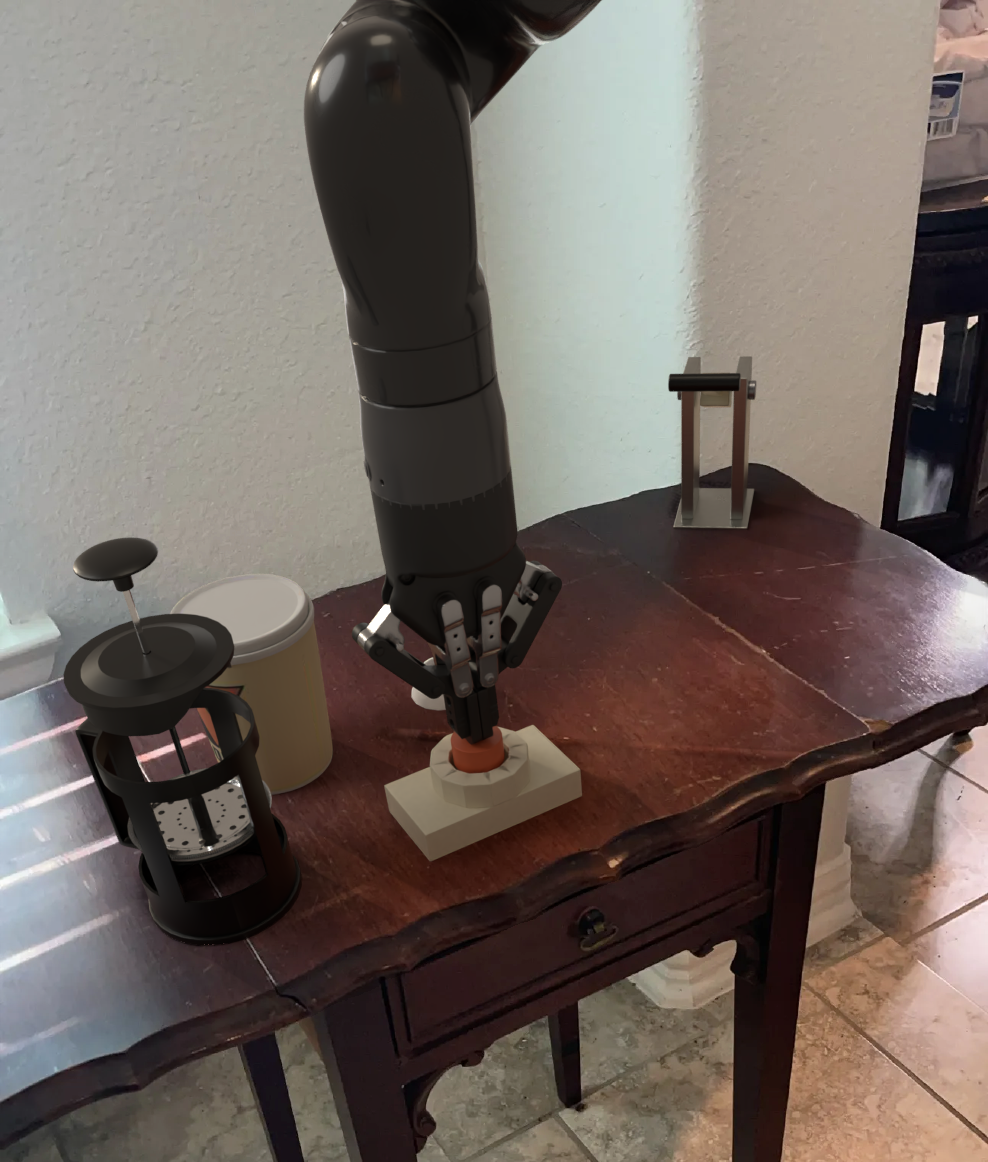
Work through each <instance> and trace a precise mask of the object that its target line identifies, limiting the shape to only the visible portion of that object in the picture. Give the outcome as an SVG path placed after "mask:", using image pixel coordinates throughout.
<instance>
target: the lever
mask: <svg viewBox="0 0 988 1162" xmlns="http://www.w3.org/2000/svg"><path fill="white" fill-rule="evenodd" d="M740 384H741V374H740V373H736V372H701V373H693V374H683V373H670V374H669V375H668V383H667V388H668V392H669V393H672V392H673V393H675V392H676V393H677V392H700V407H702V408H706V409H707V408H708V409H709V408H731V407H732V399H733V392H734V391H739V390H740Z"/></svg>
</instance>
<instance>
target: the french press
mask: <svg viewBox="0 0 988 1162" xmlns="http://www.w3.org/2000/svg"><path fill="white" fill-rule="evenodd" d="M158 555H159V549H158V547H157V545H156V544H155V543H154V542H153V541H151V540H149V539H147V538H142V537H135V536H134V537H133V536H129V537H128V536H127V537H119V538H113V539H107V540H105V541H102V542H99V543H97V544H94V545H93V546H91V547H88V549H86V550H84V551H82V553H80V554H79V555H78V556H77V558H76V559H75V560H74V562H73V566H72V569H73V572H74V574H75V575H76V576H77V577H78V578H79V579H83V580H85V581H88V582H89V581H90V582H110V581H112V582H113V585H114V587H115V590H116V591H117V592H119V593H121V592H122V594H123V597H124V600H125V603H126V606H127V608H128V612H129V615H130V618H131V620H129V621H128V622H124V623H120V624H118V625H116V626H113V627H111V628H108V629H107V630H104V631H102V632H101V633H99V634H98V635H95V636H94V637H93V638H91V639H89V640H88V641H86V642H85V643H84V644H83V645H82V646H80V647H79V648H78V649H77V650H76V651H75V652H74V653H73V654H72V655H71V657H70V659H69V660H68V662H67V663H66V665H65V668H64V671H63V684H64V687H65V690H66V691H67V693H68V695H69V696H70V697H71V698H72V699H73V700H74V701H75V702H76V703H78V704H80V705H81V706H82V709H83V711H84V714H85V716H86V717H87V718H85V720H84V721H82V722H81V723H80V724H79V725H78V726H77V727H76V729H75V736H76V738H77V740H78V743H79V746H80V748H81V751H82V753H83V756H84V758H85V761H86V763H87V766H88V769H89V771H90V774H91V776H92V778H93V780H94V783H95V786H96V788H97V791H98V793H99V796H100V799H101V801H102V803H103V807H104V809H105V811H106V813H107V816H108V819H109V822H110V823H111V826H112V829H113V832H114V834H115V836H116V839H117V841H118V843H119V844H120V846H123V847H126V848H129V849H130V848H131V849H135V850H139V851H140V853H141V854H140V856H139V860H138V875H139V879H140V881H141V884H142V886H143V888H144V891H145V893H146V896H147V899H148V909H149V914H150V916H151V919H152V920H153V923H154V925H155V924H156V925H157V926H156V925H155V926H156V927H157V928H158V929H159V931H161V933H163V934H164V933H165V934H164V935H166V936H167V935H168V936H167V937H169V938H171V939H172V938H173V939H172V940H174V939H176V940H175V941H177V940H178V941H177V942H180V941H182V942H181V943H183V942H185V943H184V944H186V943H191V944H190V945H192V944H197V945H196V946H199V945H202V946H206V945H208V944H209V945H212V944H221V945H224V944H223V943H228V944H232V943H236V942H239V941H243V940H247V939H248V938H252V937H253V936H256V935H258V934H260V933H261V932H263V931H265V930H267V929H268V928H270V927H272V926H273V925H274V924H276V923H277V922H278V921H280V920H281V919H282V918H283V917H284V916H285V915H286V914H287V913H288V912H289V910H291V908H292V907H293V906H294V904H295V902H296V900H297V899H298V897H299V895H300V891H301V888H302V879H303V878H302V877H303V874H302V871H301V867H300V862H299V861H298V859H297V857H296V856H295V855H294V853H293V851H292V848H291V844H290V841H289V838H288V834H287V830H286V827H285V826H284V824H283V822H282V821H281V820H280V819H279V818H278V817H277V816H276V815H275V814H273V812H272V810H271V808H272V799H273V798H272V797H273V796H272V795H271V793H270V789H269V788H268V786H267V785H266V783H265V782H264V781H263V780H262V778H261V775H260V771H259V767H258V764H257V760H256V757H255V755H256V752H257V750H258V747H259V738H260V736H259V733H258V729H257V725H256V722H255V718H254V715H253V711H252V709H251V707H250V706H249V705H248V703H247V702H246V701H245V700H243V699H242V698H241V697H239V696H238V695H235V694H233V693H231V692H228V691H224V690H220V689H215V688H205V687H207V686H208V685H210V684H211V683H212V682H214V681H215V680H216V679H217V678H218V677H219V676H220V675H222V674H223V672H224V671H225V670H226V668H227V667H228V668H232V667H231V663H230V662H231V660H232V658H233V656H234V648H235V646H234V643H233V639H232V635H231V633H230V632H229V631H228V629H227V628H226V627H225V626H223V625H222V624H221V623H219V622H218V621H215V620H213V619H210V618H208V617H204V616H199V615H194V614H170V613H163V614H162V613H161V614H156V615H149V616H145V617H140V616H139V613H138V610H137V607H136V604H135V601H134V597H133V595H132V592H131V590H132V589H133V588H134V587H135V583H134V580H133V576H134V575H135V574H138V573H140V572H142V571H144V570H145V569H147V568H148V567H150V566H151V565H152V564H153V563H154V562H155V561H156V559H157V557H158ZM196 708H208V710H209V713H210V716H211V720H212V723H213V726H214V729H215V733H216V736H217V739H218V743H219V746H220V749H221V752H222V756H223V760H222V761H220V762H219V763H218V762H217V763H215V764H213V765H211V766H210V767H205V768H198V769H194V770H190V768H189V765H188V761H187V758H186V756H185V753H184V749H183V745H182V743H181V740H180V737H179V734H178V731H177V728H176V726H177V725H178V724H179V723H180V721H181V720H182V719H183V718H184V717H185V716H186V715H187V713H188V712H189V710H191V709H196ZM235 713H236V714H238V715H240V716H242V717H243V718H244V719H246V720H247V721H248V722H249V723H250V724H251V725H250V729H249V732H248V734H247V736H246V738H245V739H244V741H243V739H242V735H241V732H240V728H239V725H238V721H237V718H236V714H235ZM167 731H169V734H170V738H171V740H172V743H173V746H174V748H175V751H176V755H177V758H178V760H179V764H180V767H181V769H182V773H180V774H178V775H175V776H172V777H171V778H169V779H166V780H160V781H146V780H145V776H144V774H143V771H142V769H141V766H140V764H139V761H138V758H137V755H136V753H135V750H134V747H133V744H132V741H131V739H130V737H148V736H153V735H160V734H162V733H165V732H167ZM235 852H247V853H248V852H249V853H254V854H258V855H260V857H261V861H262V864H263V869H264V871H265V874H264V875H262V877H260V878H259V879H258V880H256V881H255V882H253V883H252V884H250V885H248V886H246V887H244V888H243V889H240V890H238V891H235V892H233V893H231V894H227V895H223V896H220V897H216V898H210V899H203V900H186V896H185V893H184V891H183V888H182V885H181V881H180V879H179V878H180V877H181V876H182V875H183V874H184V873H185V872H186V871H187V870H189V869H190V868H192V867H193V866H194V865H199V864H205V863H209V862H212V861H216V860H219V859H222V858H225V857H227V856H229V855H231V854H233V853H235ZM204 944H205V945H204Z"/></svg>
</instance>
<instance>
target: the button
mask: <svg viewBox="0 0 988 1162" xmlns="http://www.w3.org/2000/svg"><path fill="white" fill-rule="evenodd" d="M498 727H499V726H498V725H496V726H494V727H493V736H492V737H489V738H487V739H484V740H482V741H480V742H477V743H475V744H472V745H471V744H470V743H469V742H468V741H467V740H466V739H465V738H464V739H461V738H460V737H459V736H458V735H457V734H456V732H455V731H454V730H453V732H452V733H453V734H452V733H451V734H452V736H451V747H452V753H453V760H454V764H455V766H456V768H457V769H458V770H460V771H462V772H466V773H469V774H471V773H486V772H489V771H491V770H493V769H496V768H498V767H500V766H501V765H502V763H503V761H504V758H505V754H504V746H503V737H502V732H501V730H500V729H499V728H498Z"/></svg>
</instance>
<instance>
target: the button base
mask: <svg viewBox="0 0 988 1162" xmlns="http://www.w3.org/2000/svg"><path fill="white" fill-rule="evenodd" d="M497 727H498V728H499V729H500V730H501V732H502V737H503V746H504V754H505V758H504V761H503V763H502V765H501V766H500V767H498V768H496V769H493V770H491V771H489V772H486V773H471V774H469V773H466V772H462V771H460V770H458V769H457V768H456V766H455V764H454V760H453V753H452V747H451V736H452V734H453V733H454V732H452V733H450V734H446V735H445V736H444V737H443V738H442V739H441V740H440V741H439V742H438V743H436V745H435V746H434V747H433V748H432V749H431V751H430V759H429V766H428V767H426V768H423V769H420V770H418V771H416V772H413V773H411V774H409V775H406V776H403V777H401V778H399V779H396V780H394V781H391V782H388V783H386V784H384V785H383V786H384V787H383V788H384V792H385V797H386V802H387V807H388V812H389V813H390V815H392V817H393V818H394V820H396V822H397V823H398V825H399V826H401V828H402V829H403V830H404V832H405V833H406V834H407V835H408V837H409V838H410V839H411V840H412V842H413V843H414V844H415V846H417V847H418V849H419V850H420V851H421V853H422V854H423V855H424V856H425V857H426V859H427V860H428V861H429V862H433V861H435V860H437V859H440V858H442V857H444V856H447V855H449V854H451V853H454V852H456V851H459V850H461V849H463V848H466V847H468V846H470V845H472V844H475V843H477V842H479V841H481V840H484V839H486V838H488V837H491V836H493V835H495V834H497V833H500V832H502V831H505V830H507V829H509V828H511V827H514V826H516V825H518V824H521V823H523V822H526V821H528V820H531V819H533V818H534V817H536V816H537V817H538V816H540V815H542V814H544V813H546V812H548V811H551V810H552V809H555V808H558V807H560V806H563V805H565V804H567V803H569V802H571V801H572V802H573V801H574V800H576V799H579V798H581V797H583V787H582V775H581V774H582V773H581V769H580V768H579V767H578V766H577V764H575V763H574V762H573V761H572V760H571V759H570V757H568V756H567V755H566V754H564V752H563V751H562V750H560V748H559V747H558V746H556V745H555V744H554V743H553V742H552V741H551V740H550V739H549V738H548V737H547V736H546V735H545V734H543V732H541V731H540V729H538V728H537V727H536V726H535V725H534V724H531V725H528V726H526V727H524V728H522V729H521V728H520V729H519V730H516V731H515V730H512V729H508V728H505V727H501V726H497Z"/></svg>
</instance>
